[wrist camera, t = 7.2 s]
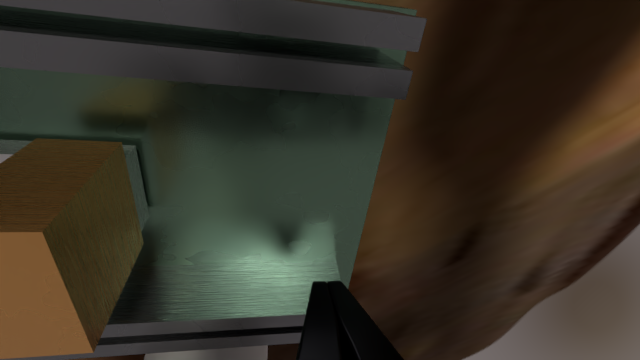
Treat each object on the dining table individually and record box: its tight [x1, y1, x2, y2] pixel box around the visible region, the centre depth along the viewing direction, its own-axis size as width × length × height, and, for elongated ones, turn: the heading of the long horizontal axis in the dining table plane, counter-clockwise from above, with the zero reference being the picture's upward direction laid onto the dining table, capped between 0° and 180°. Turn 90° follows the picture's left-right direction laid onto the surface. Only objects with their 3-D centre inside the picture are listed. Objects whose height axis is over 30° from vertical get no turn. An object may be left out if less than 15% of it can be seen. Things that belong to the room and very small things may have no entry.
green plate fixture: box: [0, 0, 427, 360], centre depth 11 cm, size 22×14×6 cm, turn 83°
